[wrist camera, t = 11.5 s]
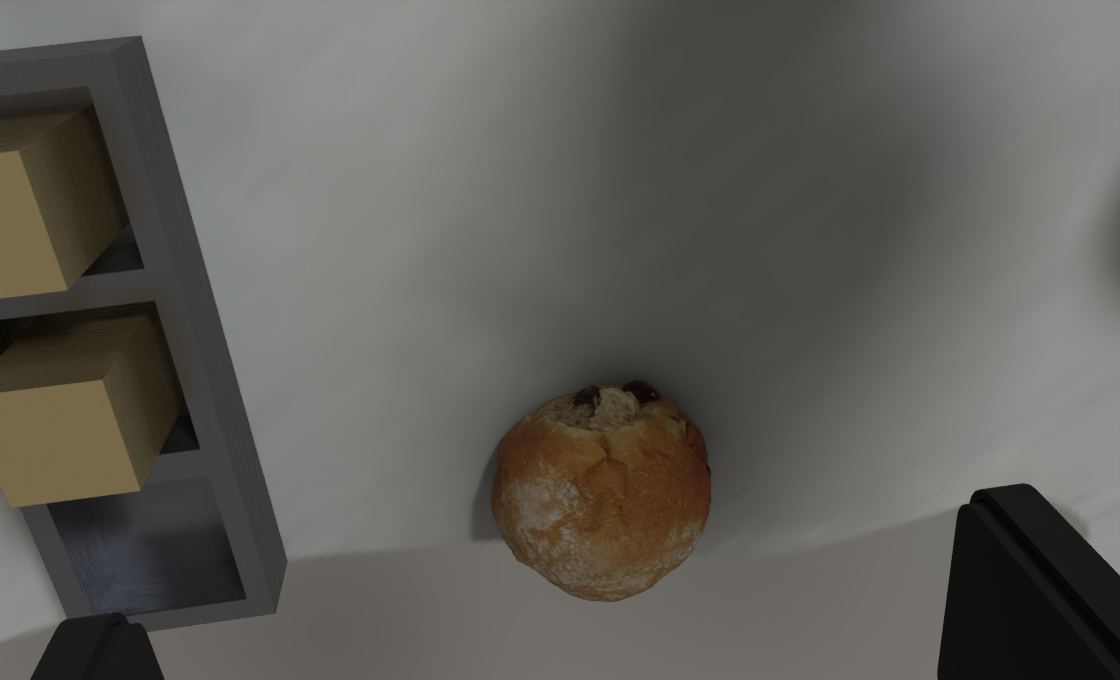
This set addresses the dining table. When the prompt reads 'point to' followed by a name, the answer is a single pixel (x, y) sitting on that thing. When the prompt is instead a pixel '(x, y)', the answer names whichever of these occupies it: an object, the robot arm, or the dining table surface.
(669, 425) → the bread roll
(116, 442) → the tan cubic block
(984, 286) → the dining table surface
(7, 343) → the grey compartment tray
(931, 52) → the dining table surface
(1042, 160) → the dining table surface
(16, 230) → the khaki cardboard box
